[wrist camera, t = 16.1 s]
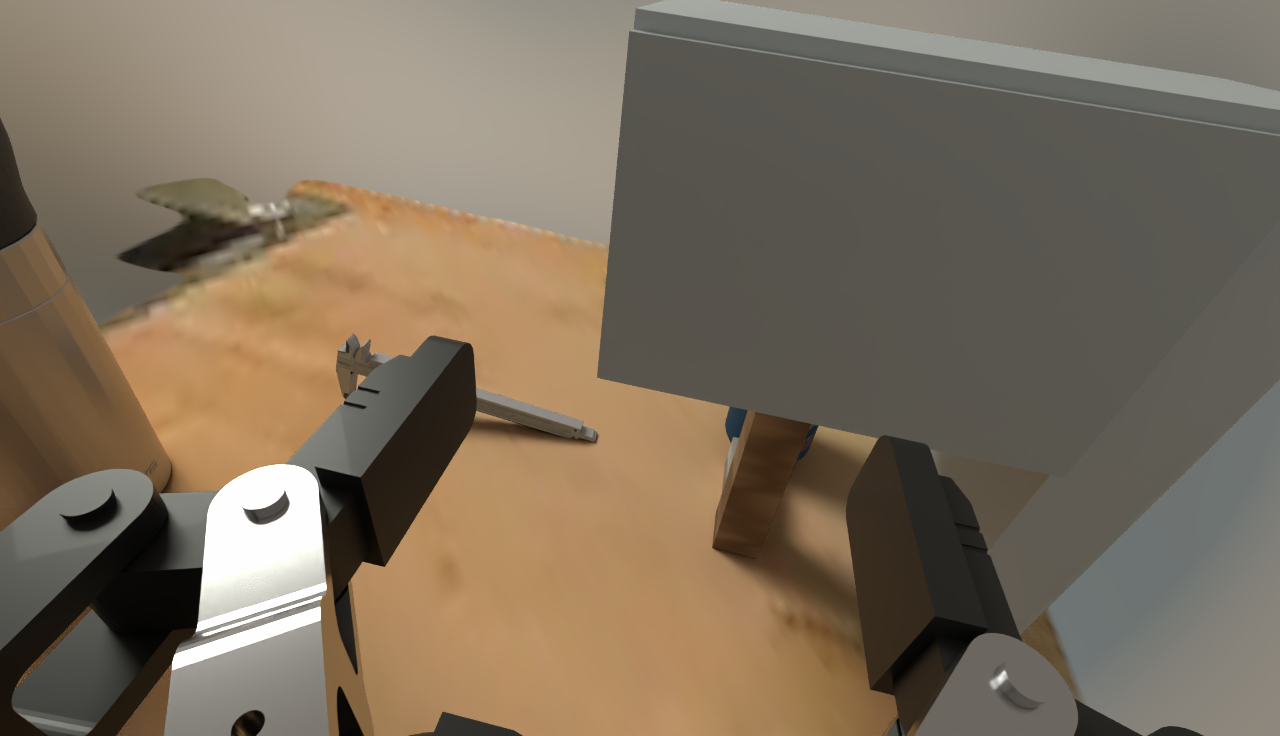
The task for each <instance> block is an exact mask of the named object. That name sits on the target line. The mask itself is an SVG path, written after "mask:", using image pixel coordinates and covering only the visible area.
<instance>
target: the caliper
mask: <svg viewBox="0 0 1280 736" xmlns="http://www.w3.org/2000/svg"><path fill="white" fill-rule="evenodd" d="M370 343H371V340H370V339H369V340H367V341H366V342H365V343H364V344H363V345H362V346H361V347H360V344H359V341H358V339H357V337H356V335H354V334H353V335H352V336H351V337H350V338H349V339H348V340H347V341H346V343H345V344H344V345H343V346H342V347H341V348H340V349H339V350H338V355H337V364H336V372H337V376H338V380H339V384H340V388H341V392H342V395H343V397H344V398H345V399H347V397H348V396H349V395H350V394H351V393H352V392H353V391H354V390H356V384H357V376H358V374H360V375H363V376H366V377H367V376H368V375H369V374H370V373H371V372H372V371H373V370H374V369H375V368H376V367H378V366H380V365H382V364H384V363H386V362H387V361H389V360H391V359H393V358H394V357H391V356H388V355H385V354H382V353H378V352H375V354H374V355H371V353H370V352H369V349H370ZM476 396H477V407H476V411H479V412H482V413H486V414H489V415H492V416H496V417H499V418H502V419H505V420H508V421H512V422H515V423H518V424H521V425H524V426H528V427H531V428H534V429H537V430H540V431H543V432H547V433H550V434H553V435H556V436H560V437H566V438H572V439H578V438H582V439H585V440H588V441H591V442H595V440H596V436H597V432H596V431H595V430H594V429H591V428H588V427H585V426H582V425H583V421H581V420H578V419H575V418H571V417H568V416H565V415H562V414H559V413H556V412H552V411H549V410H546V409H543V408H540V407H536V406H533V405H530V404H527V403H524V402H520V401H517V400H514V399H511V398H508V397H504V396H501V395H498V394H495V393H491V392H488V391H485V390H482V389H479V388H476Z"/></svg>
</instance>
